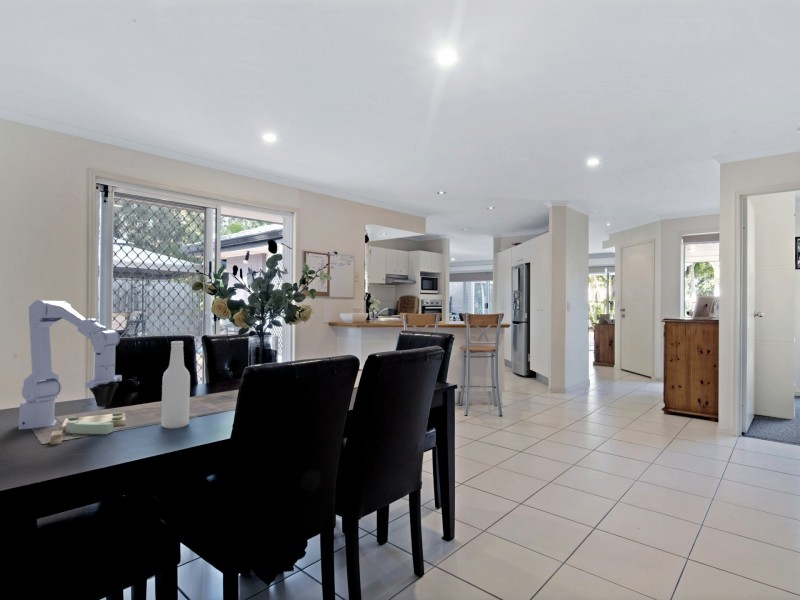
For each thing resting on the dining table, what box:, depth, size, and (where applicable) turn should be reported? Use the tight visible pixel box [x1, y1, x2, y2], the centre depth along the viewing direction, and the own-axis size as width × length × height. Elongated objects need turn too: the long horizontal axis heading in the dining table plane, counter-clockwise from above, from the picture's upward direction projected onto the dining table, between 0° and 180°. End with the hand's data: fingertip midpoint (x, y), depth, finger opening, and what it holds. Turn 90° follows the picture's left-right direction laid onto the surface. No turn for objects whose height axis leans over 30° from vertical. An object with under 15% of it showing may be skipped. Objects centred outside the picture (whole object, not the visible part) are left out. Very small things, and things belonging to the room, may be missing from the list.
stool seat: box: [49, 411, 127, 446], centre depth 147 cm, size 19×27×3 cm
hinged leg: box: [65, 421, 114, 435], centre depth 144 cm, size 15×3×3 cm, turn 88°
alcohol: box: [160, 340, 191, 430], centre depth 155 cm, size 9×9×30 cm
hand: (103, 405), depth 147 cm, fingers closed
